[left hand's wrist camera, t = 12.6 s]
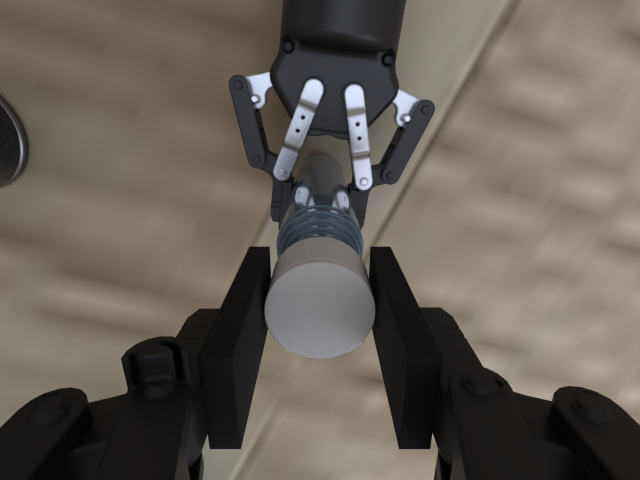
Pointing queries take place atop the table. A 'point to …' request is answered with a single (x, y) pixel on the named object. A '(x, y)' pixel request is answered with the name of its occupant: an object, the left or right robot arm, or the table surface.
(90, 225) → the table surface
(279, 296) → the cap
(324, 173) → the bottle
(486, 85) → the table surface
